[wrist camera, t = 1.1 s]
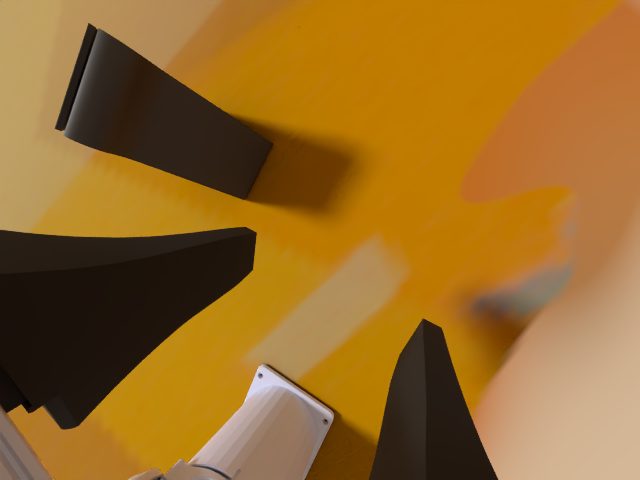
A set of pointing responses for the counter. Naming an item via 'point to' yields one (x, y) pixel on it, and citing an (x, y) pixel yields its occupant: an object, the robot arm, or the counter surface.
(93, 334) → the robot arm
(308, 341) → the counter surface
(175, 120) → the door stopper
